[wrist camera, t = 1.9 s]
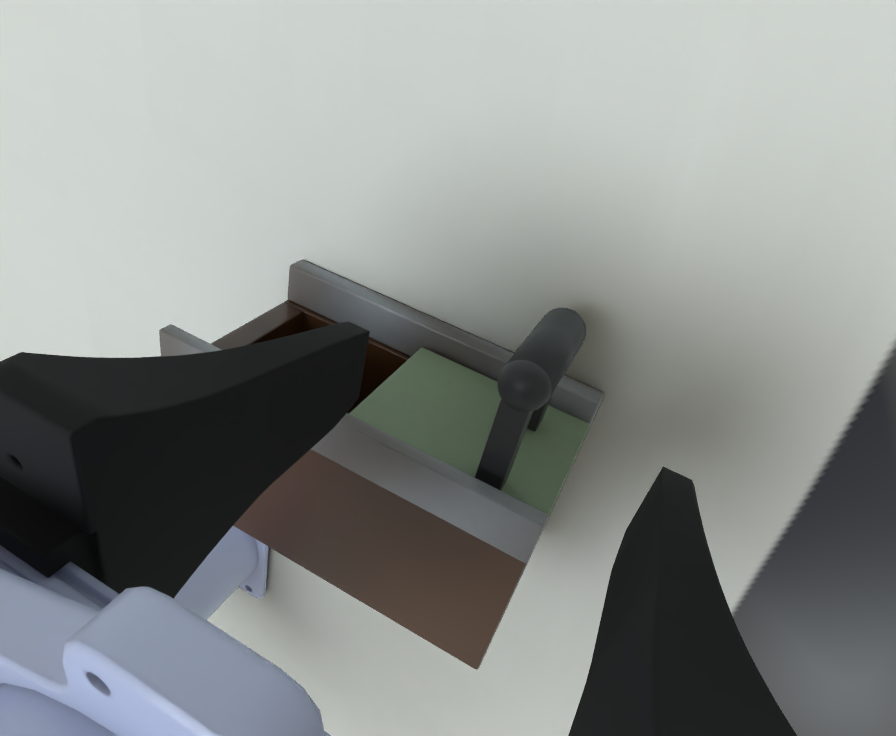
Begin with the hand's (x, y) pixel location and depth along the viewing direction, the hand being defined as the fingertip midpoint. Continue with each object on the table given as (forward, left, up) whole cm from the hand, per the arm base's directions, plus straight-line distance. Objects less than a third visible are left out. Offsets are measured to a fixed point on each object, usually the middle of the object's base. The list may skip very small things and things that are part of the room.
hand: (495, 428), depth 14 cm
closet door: (-1, -2, -7) cm, 7 cm away
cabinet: (-5, -8, -8) cm, 12 cm away
